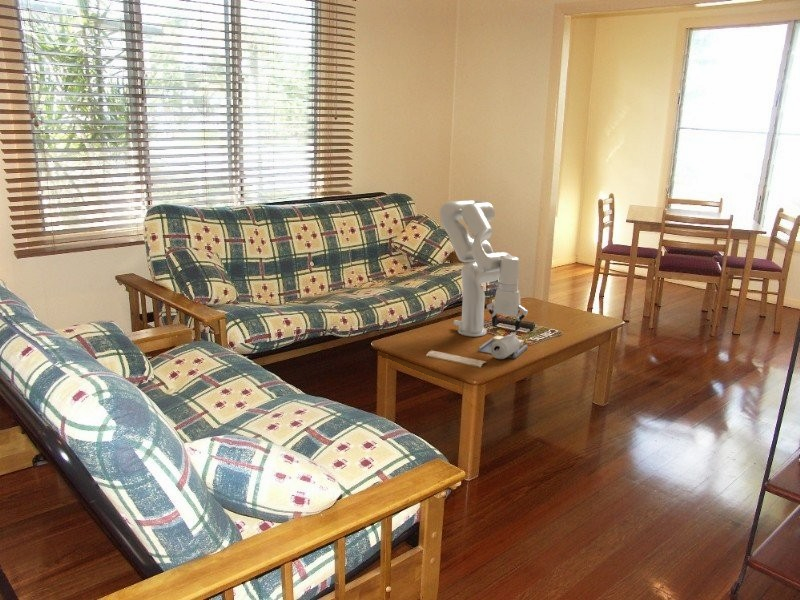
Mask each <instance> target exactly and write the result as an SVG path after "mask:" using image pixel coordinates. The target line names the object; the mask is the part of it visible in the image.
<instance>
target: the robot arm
mask: <svg viewBox="0 0 800 600" xmlns="http://www.w3.org/2000/svg"><path fill="white" fill-rule="evenodd" d="M495 211H496V210H495V207H494V206H493V205H492V204H491V203H490V202H487V201H482V200H477V199H467V200H466V199H464V200H451V201H447V202H445V203H443V204H442V206H441V207H440V210H439V219H440V223H441V226H442V227H443V229H444V230H445V232H446V234H447V235H448V237H449V239H450V240H449V241H450V243H451V245H452V247H453V249H454V251H455V254H456V257H457V259H458V260H459V261H460V262H462V263H465V264H463V266H462V267H461V269H460V270H461V271H460V272H461V273H460V276H461V282H462V304H461V306H462V307H461V320H457V319H454V320H453V326H455V327H458V328H457V333H458V334H460V335H462V336H465V337H483V336H485V335H486V334H487V329H486V328H485V327H484V320H485V302H486V301H485V300H486V295H485V290H484V289H483V287H482V284H485V283H493V282H496V283H495V286H496V287H498V288H497V289H496V291H495V295H494V302H491V303H489V304H487V305H486V309H487V310H488V312H489V315H491V319H492V320H491V323H492V327H496V326H497V325H498V321H499V320H498V315H499V316H500V315H501V316H507V317H515V325H514V327H515V328H514V330H515V331H519V329H520V328H521V325H522V324H521V323H522V320H523V319H524V318H526V316H527V315H528V312H529V310H528V309H526V308H525V307H523V306H522V305H521V294H520V290H519V275H520V274H519V273H520V259H519V257H517V256H515V255H511V254H510V253H508V252H506V251H498V252H494V250H493V246H492V245H491V243H490V242H489V241H488V240H489V239H490V238H491V237H492V235H493V233H494V232H493V231H494V230H493V228H492V226H491V224H490V222H493V220H494V219H495V217H496V212H495ZM459 221H464V222H465V224H466V226H467V227H466V226H465V225H463V224H462V223H461V222H459ZM467 228H468V229H469V231H468V229H467ZM469 232H470V233H469ZM497 280H498V282H497ZM492 307H493V308H492ZM521 312H522V315H521Z"/></svg>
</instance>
